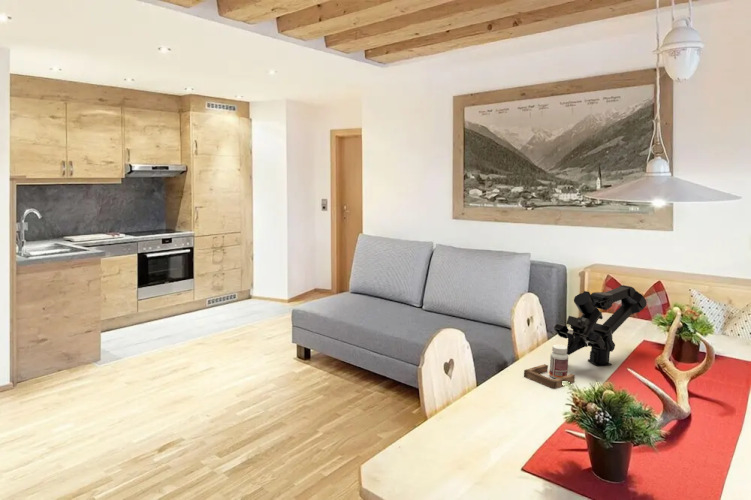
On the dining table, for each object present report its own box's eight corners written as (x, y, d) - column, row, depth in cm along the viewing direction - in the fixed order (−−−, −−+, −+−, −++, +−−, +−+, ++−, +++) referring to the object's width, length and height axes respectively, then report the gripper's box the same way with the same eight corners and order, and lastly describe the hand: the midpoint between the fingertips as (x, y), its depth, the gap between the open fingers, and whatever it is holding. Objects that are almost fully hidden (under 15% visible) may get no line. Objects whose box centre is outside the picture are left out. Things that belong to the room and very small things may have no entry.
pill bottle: (570, 377, 190) (572, 347, 188) (559, 380, 187) (561, 350, 185) (556, 372, 195) (558, 343, 194) (545, 375, 192) (547, 345, 190)
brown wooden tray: (544, 370, 196) (544, 364, 196) (574, 382, 186) (574, 375, 186) (523, 376, 190) (524, 370, 190) (553, 388, 179) (554, 382, 179)
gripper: (558, 302, 201) (537, 335, 196) (602, 313, 185) (581, 349, 181) (569, 319, 206) (549, 351, 202) (613, 332, 191) (593, 366, 186)
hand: (567, 354), depth 192 cm, fingers closed
